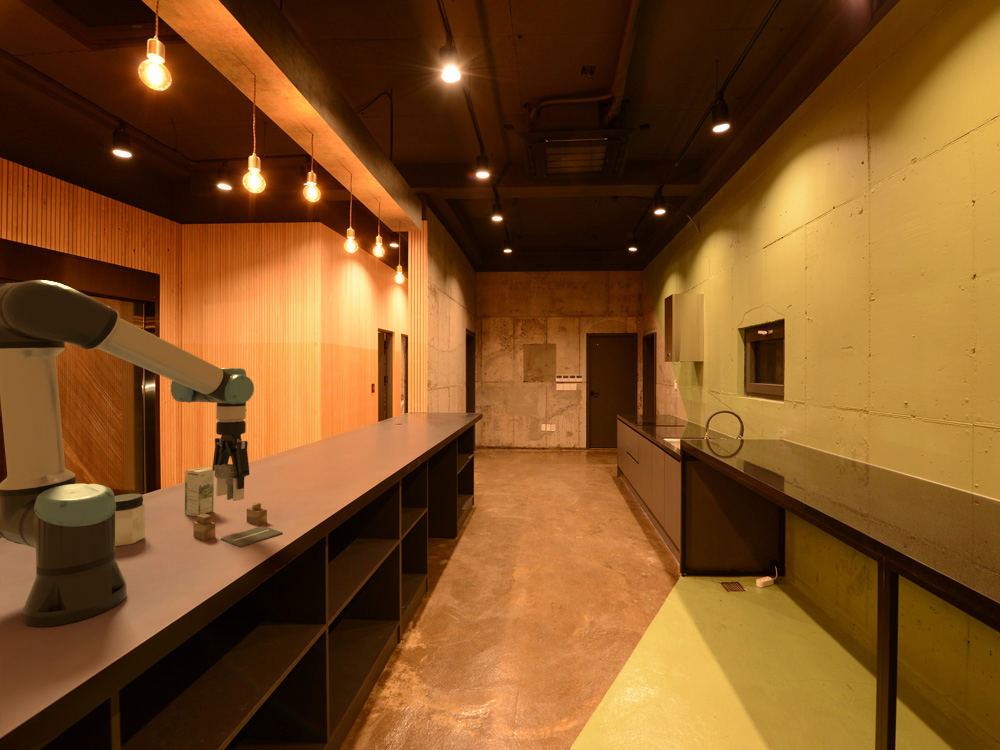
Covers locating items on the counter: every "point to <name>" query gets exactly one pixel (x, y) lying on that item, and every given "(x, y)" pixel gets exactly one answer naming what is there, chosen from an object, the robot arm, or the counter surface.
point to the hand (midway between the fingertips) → (230, 497)
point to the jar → (129, 519)
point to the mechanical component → (226, 477)
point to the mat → (251, 536)
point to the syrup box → (199, 491)
